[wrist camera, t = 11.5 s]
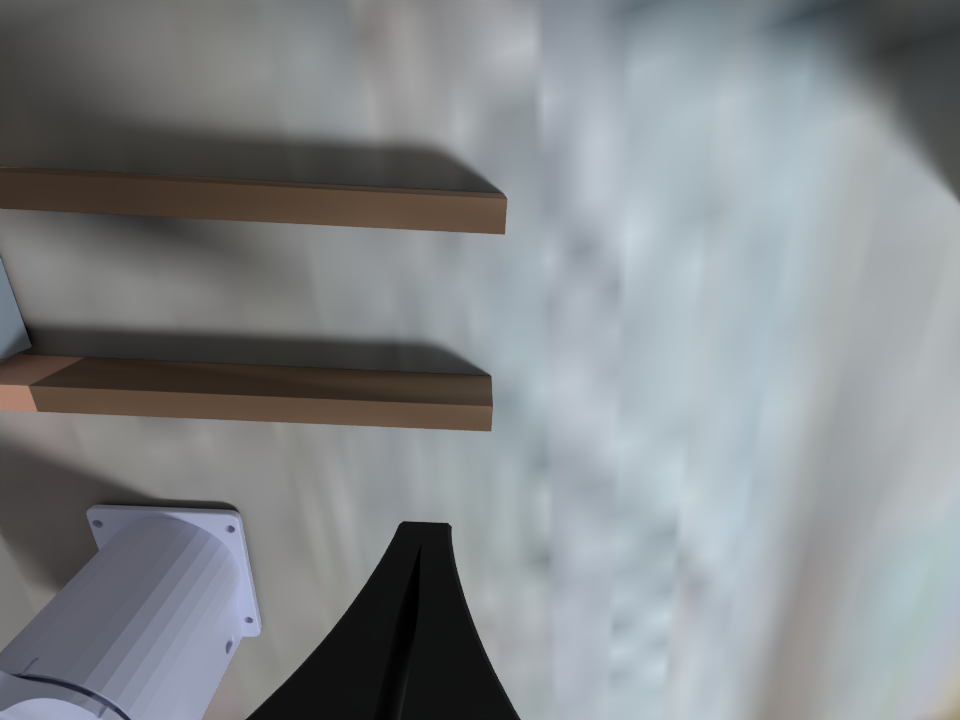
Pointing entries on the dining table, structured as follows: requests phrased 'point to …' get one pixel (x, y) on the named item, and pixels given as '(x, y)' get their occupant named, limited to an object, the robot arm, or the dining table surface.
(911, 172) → the dining table surface
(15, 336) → the block
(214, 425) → the dining table surface
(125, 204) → the brown wooden rails
